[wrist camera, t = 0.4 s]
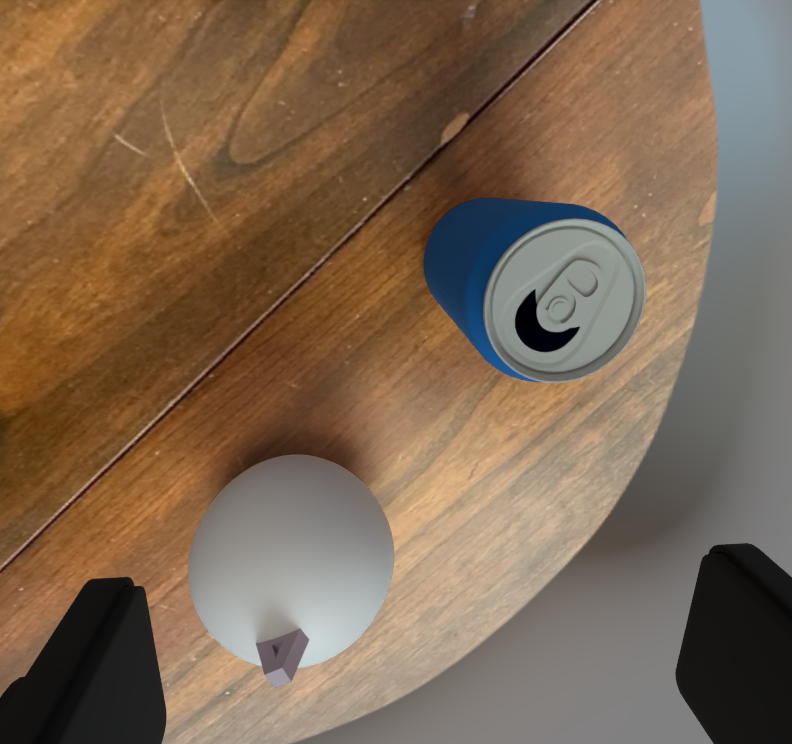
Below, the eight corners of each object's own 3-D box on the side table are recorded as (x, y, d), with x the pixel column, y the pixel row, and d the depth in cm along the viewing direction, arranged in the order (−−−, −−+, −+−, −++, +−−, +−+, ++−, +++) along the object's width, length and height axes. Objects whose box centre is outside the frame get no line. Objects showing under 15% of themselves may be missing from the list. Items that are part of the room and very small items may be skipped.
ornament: (307, 597, 36) (291, 787, 24) (180, 507, 33) (94, 678, 21) (417, 496, 34) (455, 650, 23) (294, 392, 31) (267, 510, 20)
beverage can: (397, 271, 29) (432, 324, 18) (474, 170, 28) (563, 160, 17) (485, 339, 31) (567, 427, 20) (561, 248, 30) (696, 286, 18)
